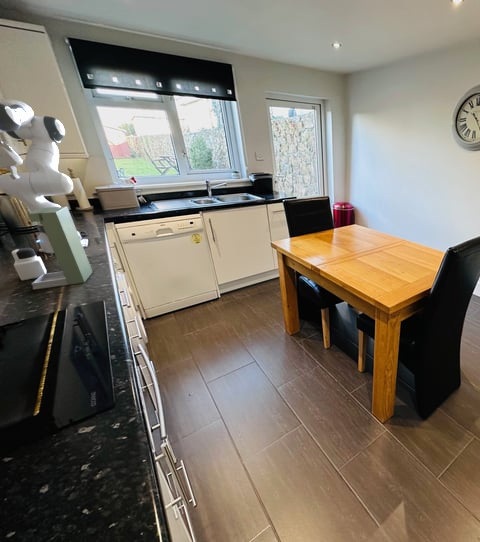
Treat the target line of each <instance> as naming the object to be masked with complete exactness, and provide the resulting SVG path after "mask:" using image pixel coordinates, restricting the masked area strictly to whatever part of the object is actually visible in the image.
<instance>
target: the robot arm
mask: <svg viewBox="0 0 480 542" xmlns="http://www.w3.org/2000/svg"><path fill="white" fill-rule="evenodd" d="M0 133H5V134H7V135H8V136H9V137H11V138H12V139H15V140H22V141H25V140H30V141H31V143H30V145H29V147H28V149H27V151H26V153H25V158H24V161H23V159H22V158H21V157H20V155H19V154H18V153H16V152H15V150H14V149H13V148H12V147H11V146H10V144H8V143H7V142H6V141H2V140H0V169H5V168H6V169H7V170H8V171H10V172H9V173H4V174H3V173H2V174H0V191H1V192H3V193H4V194H6V195H8V196H11V197H13V198H15V199H17V200H18V201H20V202H21V203H22V204H24V205H25V206H26V207H27V208H28V209H29V211H30V213H31V212H33V211H35V210H38V209H40V208H49V207H62V206H61V205H59V204H57V203H55V202H51V201H49V200H48V199H46V197H48V196H49V197H52V196H53V197H54V196H63V195H67V194H71V193H72V192H73V190H74V182H73V180H72V179H71V178H70V177H69V176H68V175H66V174H64V173H62V172H59V170H58V169H59V163H60V152H59V148H58V146H57V145H56V144H60V143H61V142H62V140H63V139H64V138H65V135H66V130H65V128H64V125H63V123H62V122H61V121H60V120H59V119H57V118H56V117H53V116H48V115H44V116H42V115H35V113H34V111H33V109H32V108H31V106H29V105H28V104H27V103H26V102H23V101H21V100H18V99H14V98H0ZM23 164H24V166H25V167H26V169H27V170H28V171H29V172H18V168H17V167H16V166H21V165H23ZM36 223H37V225H36V227H37V230H38V232H40V233H39V234H38V235H37V239H38V240H35V241H36V243H39V245H40V247H41V248H39V249H38V251H39V253H45V254H55V253H54V251H53V248H52V246H51V244H50V242H49V239H48V237H47V235H46V232H45V230H44V228H43V226H42V224H41V223H40V221H39V222H36ZM77 233H78V235H79V238H80V241H81V243H82V246H83V248H84V249H85V248H88V246H89V240H88V238H82V237H86V236H88V232H86V231H82V230H81V231H78V230H77Z"/></svg>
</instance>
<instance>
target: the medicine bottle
mask: <svg viewBox="0 0 480 542" xmlns="http://www.w3.org/2000/svg"><path fill="white" fill-rule="evenodd" d="M11 255H12V257H13V259H14V263H13V267H14V269H15V271H16V273H17V275H18V276H19V279H20V280H21V281H27V280H31V279H37V278H39V277H40V276H41V275H42V274H47V269H46V267H45V263H44V262H43V260H42V258H41V256H37V254H36V252H35V250H34V249H33V248H31V247H22V248H16V249H14V250H12V251H11Z"/></svg>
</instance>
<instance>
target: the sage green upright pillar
mask: <svg viewBox="0 0 480 542" xmlns="http://www.w3.org/2000/svg"><path fill="white" fill-rule="evenodd" d="M71 215H72V214H71V213H70V210H69V207H68V206H61V207H49V208H40V209H38V210H35V211H33V212H31V211H30V212H28V213H27V216H28V218H29V220H30V222H31V223H37V222H39V221H40V223H41V224H42V226H43V228H44V230H45V232H46V235H47V237H48V239H49V242H50V244H51V246H52V248H53V251H54V253H53V254H54V256H55V257H56V260H57V262H58V265H59V267H60V269H61V271H55V272H46V274H42V275H41V276H40V277H38V278H35V280H34V281H33V282H31V286H32V290H33V291H35V290H42V289H49V288H54V287H55V288H56V287H62V286H63V287H64V286H68V285H76V284H82V283H83V284H84V283H86V282H87V280H88V279H89V277H90V276H91V275H92V273H93V269H92V266H91V263H90V261H89V259H88V256H87V254H86V250H85V247H84V248H83V246H82V243H81V241H80V238H79V235H78V233H77V231H78V230H77V228H76V226H75V222H74V220H73V218H72V216H71Z"/></svg>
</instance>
